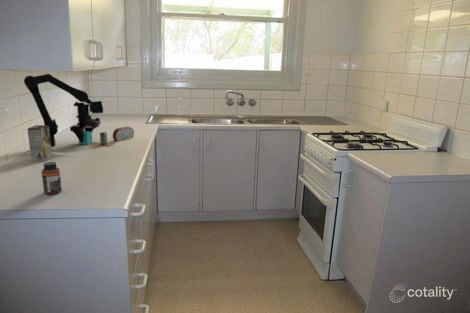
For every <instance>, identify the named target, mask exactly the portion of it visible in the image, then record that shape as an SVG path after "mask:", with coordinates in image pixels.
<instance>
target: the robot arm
mask: <svg viewBox="0 0 470 313" xmlns="http://www.w3.org/2000/svg"><path fill="white" fill-rule="evenodd" d="M23 82H24V85H25V87H26V88H27V89H28V91H29V92H30V94H32V95H31V96H32V97H33V99H34V101H35V103H36V107H37V109H38V111H39V114H40V115H41V117H42V121H43V125H49V130H50V139H51V148H54V147H56V144H57V143H56V137H55V135H56V134H57V133H58V131H59V130H58V128H59V125H58V124H57V123H56V119H55V118H53V119H52V118H51V115H50V113H49V111H48V109H47V107H46V104H45V102H44V99H43V97H42V95H41V93H40V88H39V84H45V83H49V84H52V85H53V86H55V87H57V88H59V89H60V90H63V91H64V92H66V93H68V94H70V95H71V96H72V97H74V98H75V99H76V100H78V101H75V103H73V107H77V115H76V118H77V119H78V120H77V122H78V123H76V124H74V125H71V126H70V128H69V129H70V132H72V133H74V134H75V136H76V138H77V139H78V142H79V141H80V142H81V143H83V133H84V132H85V131H90V132H92V133H93V131H95V129H96V128H99V127H100V125H101V124H102V123H101V119H100V118H99V117H96V118H92V115H91V114H90V112H91V113H92V114H103V113H104V107H103V101H101V100H98V101H92V100H91V99H89V95H88V93H87V92H85V91H84V90H82V89H79V88H75V87H73V86H71V85H70V84H67V83H66V82H64V81H62V80H60V79H59V78H56V77H55V76H53V75H52V74H50V73H46V74H41V75H36V76H33V75H26V77H25V78H24V79H23ZM85 103H86V104H85Z"/></svg>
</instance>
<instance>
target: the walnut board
mask: <svg viewBox="0 0 470 313" xmlns="http://www.w3.org/2000/svg"><path fill="white" fill-rule="evenodd" d="M92 142H93V143H91V144H89V145H82V144H79V142H78V143H76V144H75V146H85V147H86V146H88V147H101V148H102V147H103V148H109V147H112V146H114V145H116V143H113V142H107V145H101V142H98V141H97V142H96V141H95V142H94V141H92Z"/></svg>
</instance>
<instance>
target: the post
mask: <svg viewBox="0 0 470 313" xmlns="http://www.w3.org/2000/svg"><path fill="white" fill-rule="evenodd" d="M107 134H108V133H107V132H106V131H101V132H99V138H100V142H99V143H101V145H107V143H108V137H107V136H108V135H107Z"/></svg>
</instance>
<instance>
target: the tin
mask: <svg viewBox="0 0 470 313" xmlns="http://www.w3.org/2000/svg"><path fill="white" fill-rule="evenodd" d="M134 133H135V131H134V129H133V127H130V126H124V127H123V126H122V127H117V128H115V129H114V131H113V133H112V139H113V141H115V142H119V141H124V140H127V139H133V138H134V136H135V134H134Z"/></svg>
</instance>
